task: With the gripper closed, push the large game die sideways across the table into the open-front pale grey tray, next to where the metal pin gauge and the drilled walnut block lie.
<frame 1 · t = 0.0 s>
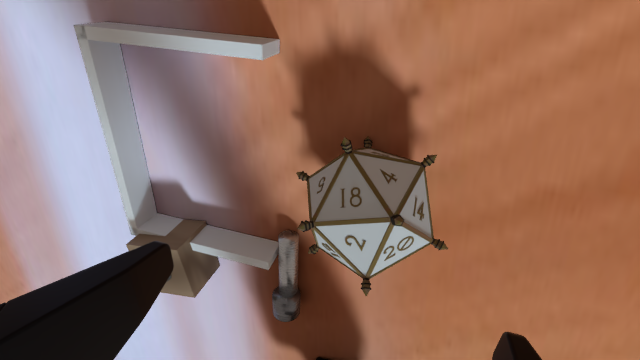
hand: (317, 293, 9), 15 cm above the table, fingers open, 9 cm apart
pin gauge: (291, 267, 30), on the table
game die: (377, 176, 24), on the table
drilled block: (189, 241, 32), on the table
tray: (206, 148, 26), on the table
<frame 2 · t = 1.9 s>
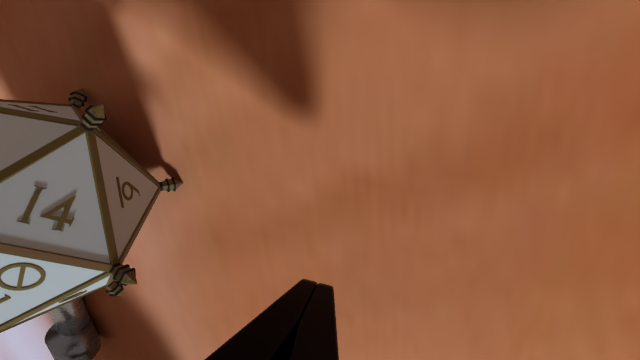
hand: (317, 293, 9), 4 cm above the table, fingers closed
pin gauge: (76, 292, 21), on the table
game die: (124, 156, 15), on the table
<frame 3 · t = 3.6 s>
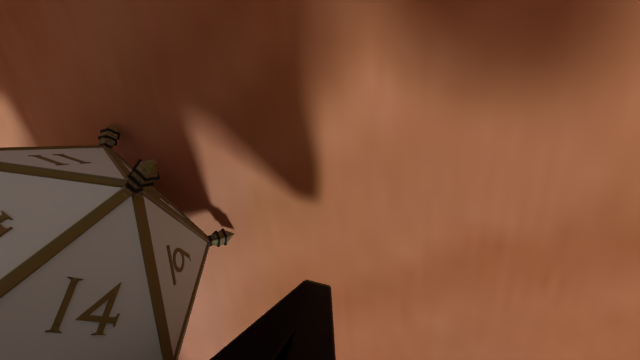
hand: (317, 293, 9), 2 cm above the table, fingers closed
game die: (161, 200, 12), on the table, touching gripper
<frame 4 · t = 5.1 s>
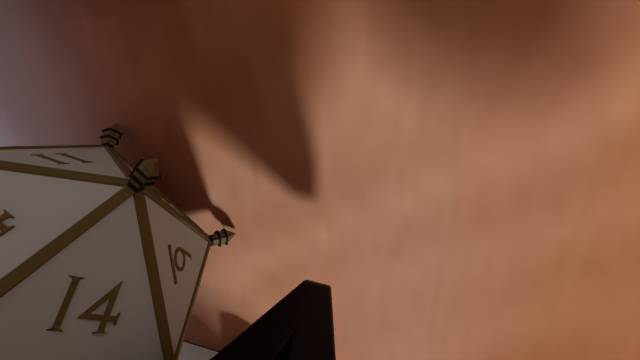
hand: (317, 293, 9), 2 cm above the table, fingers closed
game die: (163, 200, 12), on the table, touching gripper
tray: (72, 189, 13), on the table
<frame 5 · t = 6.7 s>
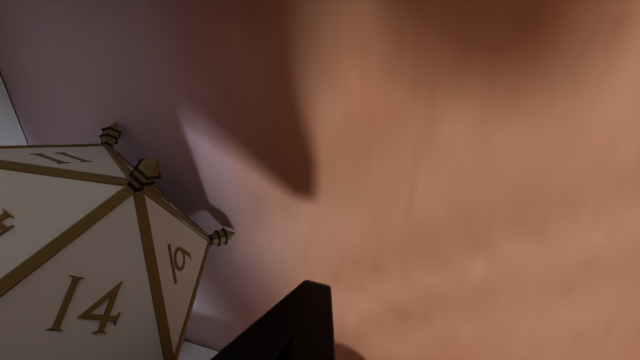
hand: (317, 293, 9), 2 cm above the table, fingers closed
game die: (162, 199, 12), on the table, touching gripper
tray: (176, 210, 12), on the table
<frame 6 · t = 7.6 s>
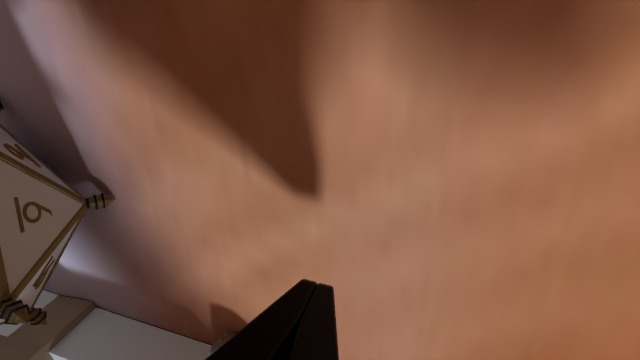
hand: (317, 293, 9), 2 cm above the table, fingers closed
game die: (53, 168, 13), on the table
drilled block: (76, 328, 19), on the table
tray: (63, 179, 13), on the table
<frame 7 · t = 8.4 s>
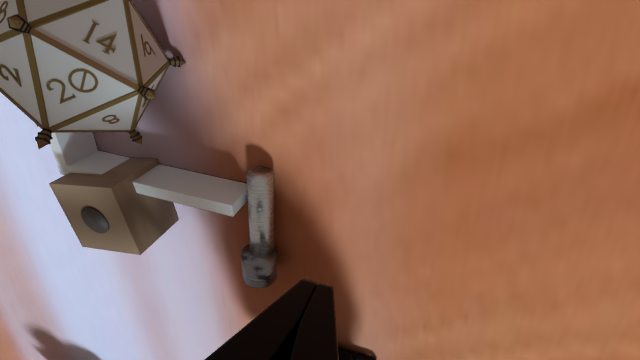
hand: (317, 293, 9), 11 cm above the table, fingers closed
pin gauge: (266, 219, 23), on the table
game die: (141, 45, 20), on the table
drilled block: (140, 188, 25), on the table
tray: (150, 51, 20), on the table
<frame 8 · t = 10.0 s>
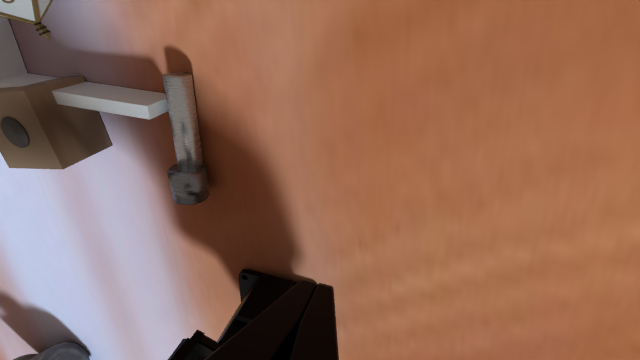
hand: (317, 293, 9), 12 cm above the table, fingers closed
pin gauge: (194, 134, 23), on the table
drilled block: (72, 113, 25), on the table
pipe fitting: (69, 353, 46), on the table
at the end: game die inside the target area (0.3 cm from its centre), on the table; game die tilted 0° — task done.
